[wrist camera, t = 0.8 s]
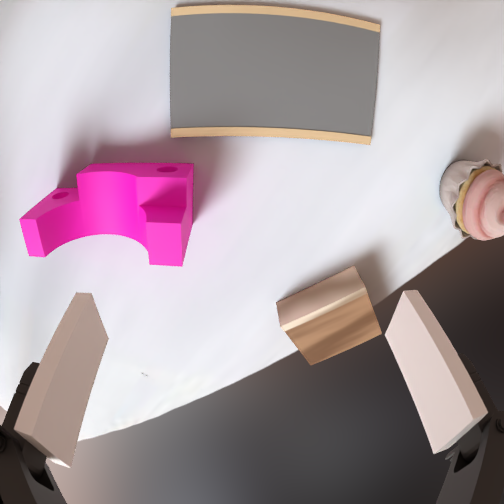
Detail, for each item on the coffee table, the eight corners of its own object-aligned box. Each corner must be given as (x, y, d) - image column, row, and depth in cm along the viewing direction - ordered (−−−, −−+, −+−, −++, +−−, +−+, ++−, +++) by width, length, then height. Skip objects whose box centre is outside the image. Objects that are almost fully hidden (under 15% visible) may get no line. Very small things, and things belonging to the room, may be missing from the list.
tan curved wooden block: (382, 333, 35) (365, 286, 30) (310, 365, 37) (280, 326, 32) (371, 311, 38) (353, 264, 34) (304, 342, 40) (276, 301, 36)
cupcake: (470, 131, 25) (532, 160, 17) (489, 192, 29) (541, 230, 21) (415, 175, 28) (472, 217, 20) (441, 234, 32) (488, 282, 24)
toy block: (193, 163, 27) (180, 191, 20) (192, 223, 30) (182, 266, 24) (54, 165, 25) (13, 192, 19) (62, 219, 29) (29, 255, 22)
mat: (172, 136, 25) (170, 137, 24) (172, 9, 19) (171, 7, 18) (367, 143, 26) (370, 144, 26) (376, 25, 20) (380, 24, 19)
